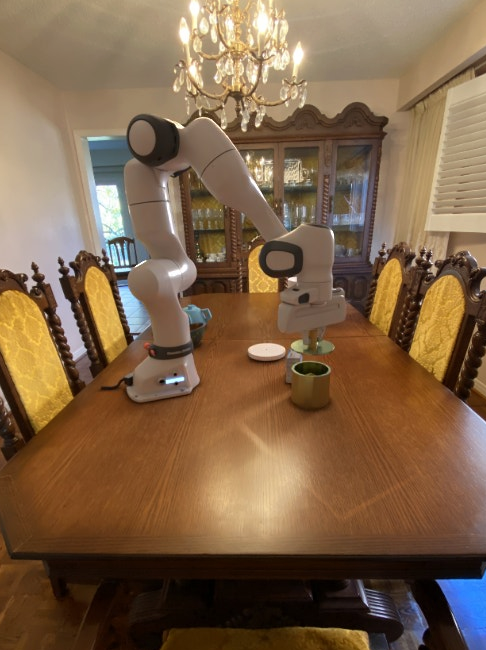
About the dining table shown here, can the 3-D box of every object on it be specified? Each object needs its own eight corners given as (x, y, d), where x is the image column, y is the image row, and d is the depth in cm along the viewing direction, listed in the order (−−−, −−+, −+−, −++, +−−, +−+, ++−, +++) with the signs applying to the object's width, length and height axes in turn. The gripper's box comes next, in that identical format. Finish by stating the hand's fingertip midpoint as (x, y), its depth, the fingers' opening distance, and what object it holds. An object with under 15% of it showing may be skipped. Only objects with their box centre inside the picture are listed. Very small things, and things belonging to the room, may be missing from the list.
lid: (309, 361, 85) (310, 339, 83) (282, 347, 94) (282, 328, 92) (343, 351, 90) (344, 331, 88) (314, 339, 100) (315, 321, 98)
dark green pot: (157, 344, 145) (154, 320, 142) (205, 340, 148) (203, 317, 144) (154, 355, 133) (150, 330, 130) (206, 351, 136) (204, 326, 132)
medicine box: (300, 384, 108) (300, 358, 105) (285, 383, 109) (286, 357, 105) (301, 373, 115) (302, 349, 112) (288, 372, 116) (288, 348, 113)
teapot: (187, 334, 156) (185, 311, 152) (169, 327, 166) (167, 305, 162) (214, 326, 166) (212, 304, 162) (195, 320, 176) (193, 300, 172)
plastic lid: (265, 366, 121) (265, 359, 120) (240, 355, 131) (240, 349, 130) (293, 355, 129) (293, 349, 128) (267, 346, 139) (267, 340, 138)
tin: (307, 414, 92) (308, 380, 88) (284, 398, 100) (284, 366, 96) (336, 403, 96) (338, 370, 93) (312, 388, 105) (313, 358, 101)
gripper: (336, 284, 94) (333, 332, 99) (273, 294, 85) (274, 347, 90) (353, 288, 89) (349, 338, 94) (289, 299, 79) (288, 355, 84)
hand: (312, 343), depth 92 cm, fingers closed on lid, 2 cm apart
